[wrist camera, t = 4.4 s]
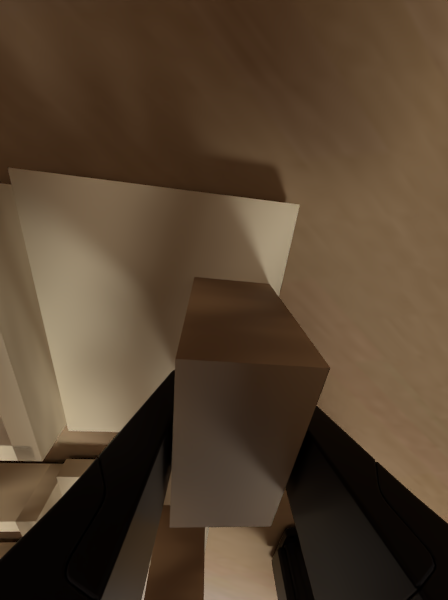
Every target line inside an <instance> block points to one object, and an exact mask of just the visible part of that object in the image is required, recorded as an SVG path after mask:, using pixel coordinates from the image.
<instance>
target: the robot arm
mask: <svg viewBox="0 0 448 600" xmlns="http://www.w3.org/2000/svg"><path fill="white" fill-rule="evenodd" d="M174 385H175V370H173V371H172V372H171V373H170V374H169V375H168V376H167V377H166V379H165V380H164V381H163V382H162V383H161V384H160V386H159V387H158V388H157V389H156V390H155V391H154V392H153V394H152V395H151V396H150V397H149V398H148V399H147V401H146V402H145V403H144V404H143V405H142V406H141V407H140V409H139V410H138V411H137V412H136V413H135V414H134V416H133V417H132V418H131V419H130V420H129V421H128V422H127V424H126V425H125V426H124V427H123V428H122V429H121V431H120V432H119V433H118V434H117V435H116V436H115V437H114V439H113V440H112V441H111V442H110V443H109V444H108V446H107V447H106V448H105V449H104V450H103V451H102V452H101V454H100V455H99V459H98V458H96V459H95V460H94V461H93V463H92V464H91V465H90V466H89V467H88V468H87V470H86V471H85V472H84V473H83V474H82V475H81V476H80V477H79V479H78V480H77V481H76V482H75V483H74V484H73V485H72V486H71V487H70V489H69V490H68V491H67V492H66V493H65V494H64V495H63V496H62V497H61V498H60V499H59V500H58V501H57V502H56V503H55V504H54V505H53V506H52V507H51V508H50V510H49V511H48V512H47V513H46V514H45V515H44V516H43V517H42V518H41V519H40V520H39V521H38V522H37V523H36V524H35V525H34V526H33V527H32V528H31V529H30V530H29V531H28V532H27V533H26V534H25V535H24V536H23V537H22V538H21V539H20V540H19V541H18V542H17V543H16V544H15V545H14V546H13V547H12V548H11V549H10V550H9V551H8V552H7V553H5V554H4V555H3V556H2V557H1V558H0V600H141V599H142V594H143V590H144V586H145V581H146V577H147V573H148V569H149V564H150V560H151V556H152V551H153V547H154V543H155V539H156V534H157V530H158V526H159V522H160V517H161V513H162V509H163V504H164V500H165V496H166V492H167V487H168V483H169V479H170V474H171V470H172V443H173V414H174ZM286 491H287V495H288V499H289V503H290V506H291V510H292V514H293V518H294V522H295V526H296V528H288V529H286V530H285V531H284V533H283V536H282V538H281V540H280V543H279V545H278V547H277V550H276V552H275V554H274V557H273V559H272V567H273V573H274V579H275V585H276V591H277V596H278V600H448V523H447V522H445V521H444V520H443V519H442V518H441V517H439V516H438V515H437V514H436V513H435V512H434V511H432V510H431V509H430V508H429V507H428V506H426V505H425V504H424V503H423V502H422V501H421V500H419V499H418V498H417V497H416V496H415V495H414V494H412V493H411V492H410V491H409V490H408V489H407V488H406V487H405V486H403V485H402V484H401V483H400V482H399V481H398V480H397V479H396V478H395V477H393V476H392V475H391V474H390V473H389V472H388V471H387V470H386V469H385V468H384V467H383V466H381V465H380V464H379V463H378V462H375V459H374V458H373V457H372V456H370V455H369V454H368V453H367V452H366V451H365V450H364V449H363V448H362V447H361V446H360V445H359V444H357V443H356V442H355V441H354V440H353V439H352V438H351V437H350V436H349V435H348V434H347V433H346V432H344V431H343V430H342V429H341V428H340V427H339V426H338V425H337V424H336V423H335V422H334V421H333V420H331V419H330V418H329V417H328V416H327V415H326V414H325V413H324V412H323V411H322V410H321V409H320V408H318V407H317V406H316V407H315V410H314V413H313V415H312V418H311V421H310V423H309V426H308V429H307V431H306V434H305V437H304V439H303V442H302V445H301V447H300V450H299V453H298V455H297V458H296V461H295V463H294V466H293V469H292V471H291V474H290V477H289V479H288V482H287V485H286Z"/></svg>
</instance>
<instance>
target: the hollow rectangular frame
mask: <svg viewBox="0 0 448 600" xmlns="http://www.w3.org/2000/svg"><path fill="white" fill-rule="evenodd" d="M94 460H95V459H66V460H65V462H64V464H39V463H0V532H16V531H20V533H21V535H22V537H23V536H24V535H25V534H26V533H27V532H28V531H29V530H30V529H31V528H32V527H33V526H34V525H35V524H36V523H37V522H38V521H39V520H40V519H41V518H42V517H43V516H44V515H45V514H46V513H47V512H48V511H49V510H50V508H51V507H52V506H53V505H54V504H55V503H56V502H57V501H58V500H59V499H60V498H61V497H62V496H63V495H64V494H65V493H66V492H67V491H68V490H69V489H70V487H71V486H72V485H73V484H74V483H75V482H76V481H77V480H78V479H79V477H80V476H81V475H82V474H83V473H84V472H85V471H86V470H87V468H88V467H89V466H90V465H91V464H92V463H93V461H94ZM171 472H172V470H171ZM170 501H171V474H170V479H169V483H168V487H167V492H166V496H165V500H164V504H163V509H162V513H161V517H160V522H159V526H158V530H157V534H156V539H155V543H154V547H153V551H152V556H151V560H150V564H149V566H150V568H149V574H148V580H147V586H146V592H145V598H144V600H204V554H205V548H206V542H207V536H208V531H209V527H178V528H170ZM16 543H17V542H6V543H0V558H1V557H2V556H3V555H4V554H5V553H7V552H8V551H9V550H10V549H11V548H12V547H13V546H14V545H15V544H16Z"/></svg>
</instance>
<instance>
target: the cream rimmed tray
mask: <svg viewBox="0 0 448 600" xmlns="http://www.w3.org/2000/svg"><path fill="white" fill-rule="evenodd" d="M7 168H8V167H7ZM8 172H9V177H10V181H11V184H3V183H0V461H43V460H44V458H45V457H46V455H47V454H48V452H49V451H50V449H51V448H52V446H53V445H54V443H55V442H56V440H57V438H58V437H59V435H60V434H61V432H62V431H63V429H64V428H65V426H66V425H67V427H68V431H95V432H120V431H121V429H122V428H123V427H124V426H125V425H126V424H127V422H128V421H129V420H130V419H131V418H132V417H133V416H134V414H135V413H136V412H137V411H138V410H139V409H140V407H141V406H142V405H143V404H144V403H145V402H146V401H147V399H148V398H149V397H150V396H151V395H152V394H153V392H154V391H155V390H156V389H157V388H158V387H159V386H160V384H161V383H162V382H163V381H164V380H165V379H166V377H167V376H168V375H169V374H170V373H171V372H172V371H173V370H175V385H174V414H173V443H172V472H171V501H170V528H178V527H271V524H272V522H273V519H274V516H275V514H276V511H277V508H278V506H279V503H280V501H281V498H282V495H283V493H284V490H285V487H286V485H287V482H288V479H289V477H290V474H291V471H292V469H293V466H294V463H295V461H296V458H297V455H298V453H299V450H300V447H301V445H302V442H303V439H304V437H305V434H306V431H307V429H308V426H309V423H310V421H311V418H312V415H313V413H314V410H315V407H316V405H317V402H318V399H319V397H320V394H321V391H322V389H323V386H324V383H325V381H326V378H327V375H328V373H329V370H330V367H329V366H328V364H327V363H326V361H325V360H324V359H323V357H322V356H321V354H320V353H319V352H318V350H317V349H316V348H315V346H314V345H313V343H312V342H311V341H310V339H309V338H308V337H307V335H306V334H305V332H304V331H303V330H302V328H301V327H300V325H299V324H298V323H297V321H296V320H295V319H294V317H293V316H292V314H291V313H290V312H289V310H288V309H287V307H286V306H285V305H284V303H283V302H282V301H281V299H280V298H279V294H280V289H281V285H282V280H283V276H284V272H285V267H286V263H287V258H288V254H289V250H290V245H291V241H292V236H293V232H294V228H295V223H296V219H297V214H298V210H299V206H300V205H298V204H290V203H283V202H275V201H267V200H259V199H251V198H243V197H236V196H228V195H220V194H212V193H204V192H196V191H189V190H181V189H173V188H165V187H157V186H149V185H142V184H134V183H126V182H118V181H110V180H102V179H95V178H87V177H79V176H71V175H63V174H55V173H48V172H40V171H32V170H24V169H16V168H8Z"/></svg>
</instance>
